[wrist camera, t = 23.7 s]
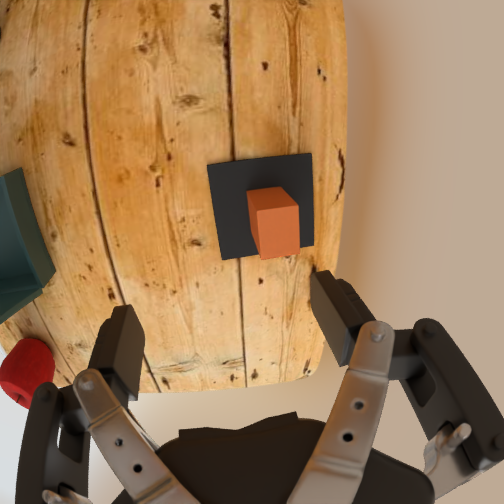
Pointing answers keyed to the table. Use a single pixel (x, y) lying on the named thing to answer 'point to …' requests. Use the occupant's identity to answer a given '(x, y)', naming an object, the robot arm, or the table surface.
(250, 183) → the mat
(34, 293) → the lunchbox lid
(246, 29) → the table surface
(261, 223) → the block
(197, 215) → the table surface
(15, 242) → the box
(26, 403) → the apple
